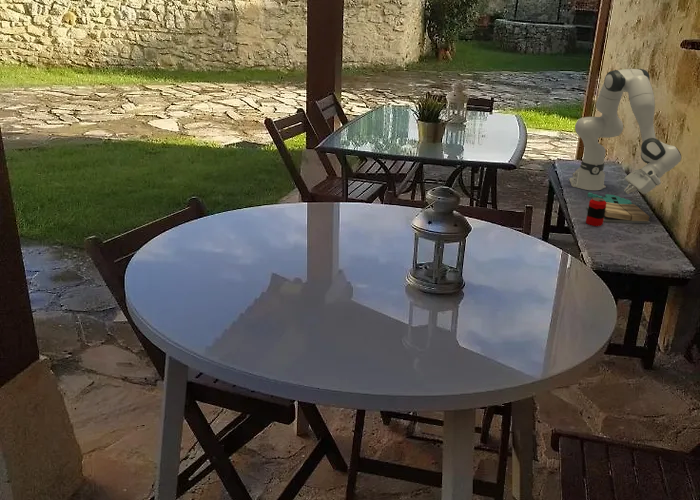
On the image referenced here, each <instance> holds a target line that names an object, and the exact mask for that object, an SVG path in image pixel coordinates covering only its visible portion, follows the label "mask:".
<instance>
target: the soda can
mask: <svg viewBox="0 0 700 500" xmlns="http://www.w3.org/2000/svg"><path fill="white" fill-rule="evenodd" d="M606 204H607V203H606V202H605V200H604V199H602V198H593V197H591V199H590V200H589V202H588V206H587V207H588V210H587V214H586V219H585V223H586V224H587V225H588V226H592V227H601V226H603V224H604V222H603V220H604V214H605V209H606Z"/></svg>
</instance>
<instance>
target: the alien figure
mask: <svg viewBox="0 0 700 500" xmlns="http://www.w3.org/2000/svg"><path fill="white" fill-rule="evenodd" d="M587 198H602V199H604V200H605V202H609V203H616V204H633V203H632V201H631V199H626V198H625V197H620V196H619V195H618V196H617V195H615V194H608V193H606V194H605V195H604V196H603V195H599V194H594V193H593V192H587Z"/></svg>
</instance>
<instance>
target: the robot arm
mask: <svg viewBox="0 0 700 500" xmlns="http://www.w3.org/2000/svg"><path fill="white" fill-rule="evenodd" d="M626 92H627V94H628V99H629V106H630V109H631V111H632V113H633V115H634V118H635V119H636V122H637V124H638V126H639V131H640V132H639V133H640V135H641V137H640V138H641V142H642V143H641V147H640V158H641V161H643V163H645V165H644V166H643V167H642V168H639V169H638V168H637V169H635V170H634V171H633V170H632V172H630V173H629V174H627V175H626V176H625V178H624V180H625V181H626V182H627V183H628V185H627V187H626V188H625V189H623V191H624V193H625V194H627V195H629V194H631V193H633V192H636V191H638V192H640V193H641V194H642V195H646V194H648V193H650V192H651V191H652V190H653V189H655V188H656V186H660V185H661V184H662V181H661V178H662V177H663V176H664V175H665V174H666V173H667V172H670V171H671V170H672V169H674V168H675V167H676V166H677V165H678V164H679V163H680V162H681V161H682V154H681V152H680V150H679V149H678V148H677V147H676V146H675V145H670V144H668V143H664V142H663V141H660V140H659V139H657V138H656V131H655V126H654V125H655V124H654V118H655V110H656V109H655V107H656V103H655V102H656V100H655V93H654V90H653V87H652V84H651V82H650V74H649V71H647V70H646V69H645V68H644V69H643V68H626V69H614V70H610V71H608V72H607V73H606V75H605V77H604V81H603V84H602V86H601V88H600V91H599V95H598V96H597V100H596V103H595V108H596V111H598V112H599V113H600V114H601V116H584V117H580V118H579V119H578V120H576V122H575V124H574V130H575V133H576V135H578V137H580V139H581V140H582V143H583V155H582V160H581V162H580V165H579V167H578V168H577V169H576V170H575V171H574V172H572V177H570V178H569V179H568V180H569V183H570V185H571V187H572V188H578V189H581V190H585V191H586V190H587V191H600V190H603V189H606V187H607V186H606V185H605V176H606V173H605V171H604V169H605V163H604V162H605V158H606V157H605V156H606V148H605V146H604V145H602V144H600V143H599V138H600V139H601V138H602V139H603V138H607V139H608V138H609V139H610V138H616V137H619V136H620V135H622V132H623V131H624V122H623V121H622V119H620V117H619V116H618V110H619V109H618V108H619V106H620V103H621V99H622V97H623V94H624V93H626Z"/></svg>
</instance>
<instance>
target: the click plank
mask: <svg viewBox="0 0 700 500" xmlns="http://www.w3.org/2000/svg"><path fill="white" fill-rule="evenodd" d="M606 203H607V204H606V209H605V214H604V215H605V216H606V217H611V218H617V219H624V220H630V221H631V217H632V216H631V215H630V214H629V213H628V212H627V211H626V210H624V209H623V208H622V207H621V206H620V205H619V204H616V203H609V202H606Z"/></svg>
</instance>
